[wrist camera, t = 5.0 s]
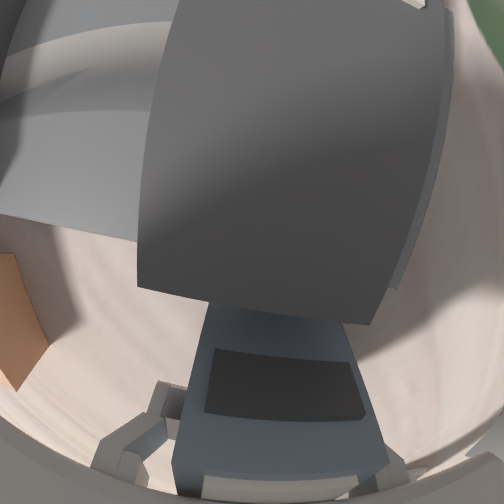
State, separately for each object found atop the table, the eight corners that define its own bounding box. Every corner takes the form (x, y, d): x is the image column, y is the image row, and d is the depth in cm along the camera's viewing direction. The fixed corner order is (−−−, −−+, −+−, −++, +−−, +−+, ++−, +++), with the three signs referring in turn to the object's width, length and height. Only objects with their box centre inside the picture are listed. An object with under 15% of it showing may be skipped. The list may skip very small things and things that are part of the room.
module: (337, 301, 11) (399, 467, 4) (290, 405, 13) (300, 522, 7) (213, 282, 10) (167, 469, 4) (200, 394, 13) (180, 515, 6)
